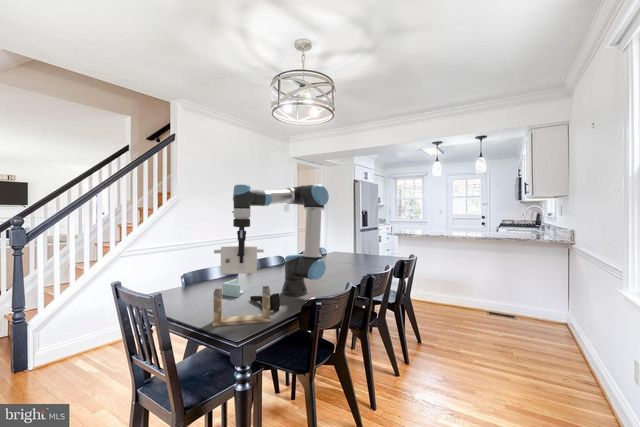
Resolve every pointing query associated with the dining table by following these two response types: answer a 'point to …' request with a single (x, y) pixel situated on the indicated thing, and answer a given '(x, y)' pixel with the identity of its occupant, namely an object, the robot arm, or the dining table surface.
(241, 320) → the hinge frame
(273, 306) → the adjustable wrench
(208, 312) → the dining table surface
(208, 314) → the dining table surface
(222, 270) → the cabinet door
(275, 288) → the dining table surface
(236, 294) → the right angle wall
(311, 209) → the robot arm
